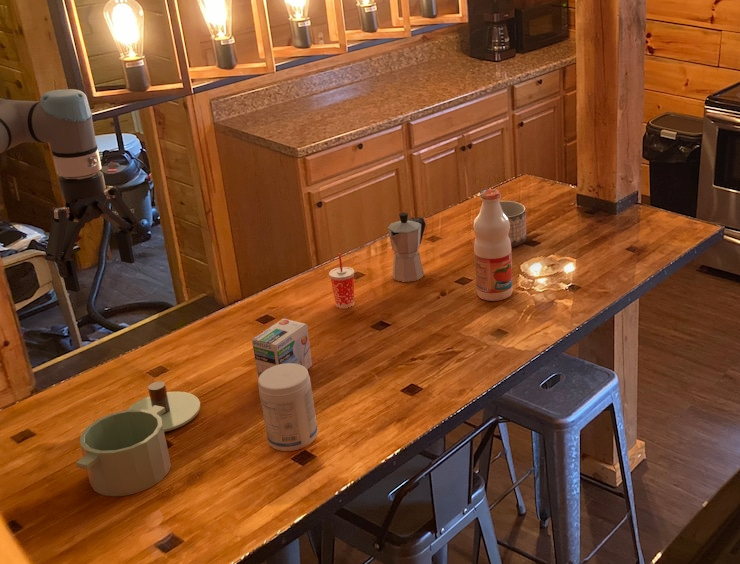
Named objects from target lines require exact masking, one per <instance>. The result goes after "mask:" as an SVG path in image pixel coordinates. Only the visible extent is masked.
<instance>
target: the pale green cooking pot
mask: <svg viewBox="0 0 740 564" xmlns="http://www.w3.org/2000/svg"><path fill="white" fill-rule="evenodd" d="M164 412H166V411H165V407H161V406H157V405H154V406H153V407H151V408H150V409H149V410H143V409H137V410H127V409H126V410H122V411H117V412H112V413H110V414H108V415H107V414H106V415H105V416H103V417H100V418H98V419H96V420H95V421H93V422H92V423H91V424H89V425H88V426H86V427H85V429H84V430H83V431H82V433H81V434H80V435H79V448H80V451H81V454H82V457H81V458H80V459H79V460H77V461H76V462H75V465H76V468H79V469H83V470H86V474H87V477H88V481H89V485H90V486H91V488H92V490H93V491H94V492H96V493H97V494H99V495H102V496H106V497H125V496H130V495H134V494H138V493H142V492H144V491H145V490H148V489H150V488H152V487H154V486H155V485H156V484H159V483H160V482H161V481H162V480H164V478H165V477H166V476H167V475H168V474H169V472H170V469H171V467H172V461H171V456H170V451H169V447H168V442H167V438H166V432H164V427H163V423H162V418H161V417H160V415H162V414H163V413H164Z"/></svg>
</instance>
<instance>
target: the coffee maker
mask: <svg viewBox="0 0 740 564" xmlns="http://www.w3.org/2000/svg"><path fill="white" fill-rule="evenodd" d="M398 216H399V220H398V221H394V222H391V223H390V224H389V225H388V227H387V232H388V237H389V240H390V246H391V249H392V251H394V253H393V263H392V274H393V276H392V278H393V277H394V278H393V281H394V280H399V281H404V282H408V283H410V282H409V281H415V282H417V281H416V280H418V279H420V278H421V277H423V276H424V275H425V273H424V272H425V271H424V267H423V264H422V260H421V259H422V258H421V256H420V251H419V248H420V246H421V244H422V241H423V237H424V233H425V229H426V225H427V224H426V221H425V219H424V217H421V216H418V217H416V218H415V217H413V216H411V217H409V213H408V212H400V213H399V214H398ZM408 219H409V220H408ZM424 277H425V276H424ZM424 277H423V278H424ZM421 279H422V278H421ZM421 279H420V280H421ZM399 281H398V282H399ZM418 281H419V280H418Z"/></svg>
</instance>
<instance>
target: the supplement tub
mask: <svg viewBox="0 0 740 564" xmlns="http://www.w3.org/2000/svg"><path fill="white" fill-rule="evenodd" d="M308 370H309V369H306V368H305V367H304V366H302V365H299V364H294V363H286V364H280V365H276V366H273V367H271V368H269V369H267V370H265V371H264V372H263V373H262V374H261V375H260V376H259V378H258V377H257V383H258V387H257V388H258V393H259V400H260V405H261V410H262V417H263V422H264V426H265V434H266V437H267V438H266V439H267V443H268V444H269V446H270V447H271V448H273V449H274V450H277V451H281V452H294V451H298V450H302V449H305V448H306V447H308V446H310V445H311V444H312V443H313V442H314V441H315V440H316V438H317V436H318V433H319V428H318V421H317V416H316V408H315V401H314V396H313V389H312V388H313V387H312V382H311V376H310V374H309V371H308Z"/></svg>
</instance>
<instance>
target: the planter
mask: <svg viewBox="0 0 740 564" xmlns="http://www.w3.org/2000/svg"><path fill="white" fill-rule="evenodd" d="M499 202H500V205H501V208H502V211H503V212H504V214H505V215H506V216H507V217H508V219H509V222H510V230H509V234H508V236H509V238H510V241H511V248H513V247H518V246H520V245H522V244H524V243H525V242H526V240H527V212H526V211H527V207H526V206H525V205H524V204H523V203H520V202H517V201H514V200H499Z"/></svg>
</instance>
